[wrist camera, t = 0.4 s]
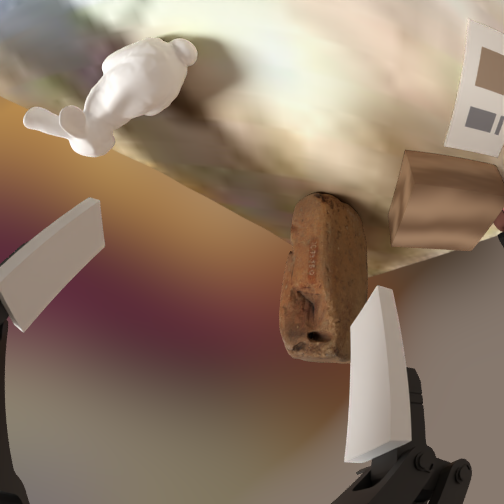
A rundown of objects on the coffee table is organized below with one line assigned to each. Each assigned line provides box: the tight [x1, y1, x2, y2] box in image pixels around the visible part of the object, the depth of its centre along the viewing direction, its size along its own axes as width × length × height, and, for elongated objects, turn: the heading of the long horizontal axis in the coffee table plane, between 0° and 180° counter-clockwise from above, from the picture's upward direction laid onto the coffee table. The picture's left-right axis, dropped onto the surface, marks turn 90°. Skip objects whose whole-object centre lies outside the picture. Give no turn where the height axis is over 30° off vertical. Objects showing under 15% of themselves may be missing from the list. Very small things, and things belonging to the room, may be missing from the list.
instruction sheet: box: [444, 19, 504, 158], centre depth 15 cm, size 15×8×1 cm, turn 12°
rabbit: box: [23, 37, 198, 157], centre depth 17 cm, size 12×9×12 cm
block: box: [279, 193, 368, 363], centre depth 32 cm, size 11×8×20 cm
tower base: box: [388, 150, 504, 251], centre depth 27 cm, size 12×13×5 cm
